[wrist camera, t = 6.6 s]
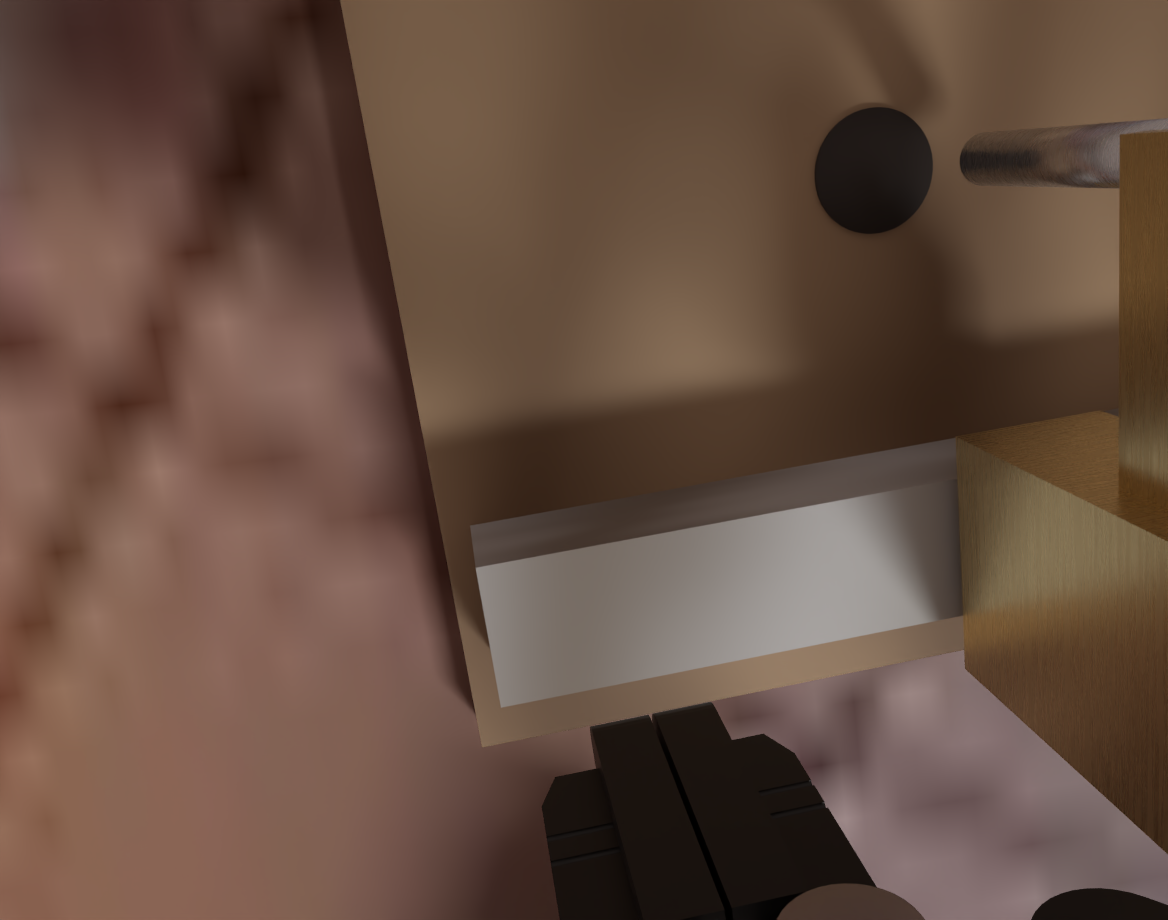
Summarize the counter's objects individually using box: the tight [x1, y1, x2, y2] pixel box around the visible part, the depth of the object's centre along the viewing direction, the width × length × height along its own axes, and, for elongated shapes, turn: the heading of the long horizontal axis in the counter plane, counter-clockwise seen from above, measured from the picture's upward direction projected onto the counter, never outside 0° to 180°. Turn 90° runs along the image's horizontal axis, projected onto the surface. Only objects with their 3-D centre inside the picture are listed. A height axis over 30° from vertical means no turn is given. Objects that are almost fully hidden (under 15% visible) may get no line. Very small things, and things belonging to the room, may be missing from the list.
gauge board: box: [340, 0, 1168, 748], centre depth 15 cm, size 20×13×8 cm, turn 98°
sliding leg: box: [955, 118, 1168, 854], centre depth 14 cm, size 2×8×6 cm, turn 8°
